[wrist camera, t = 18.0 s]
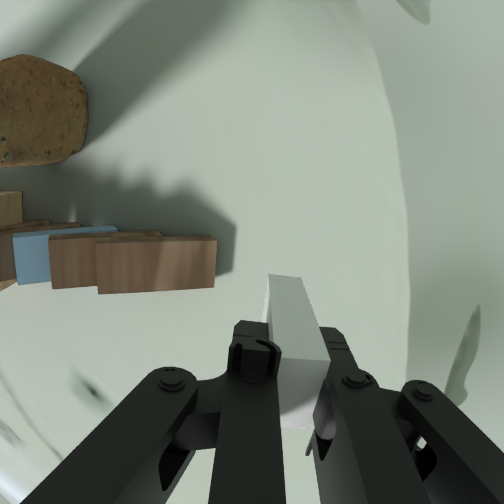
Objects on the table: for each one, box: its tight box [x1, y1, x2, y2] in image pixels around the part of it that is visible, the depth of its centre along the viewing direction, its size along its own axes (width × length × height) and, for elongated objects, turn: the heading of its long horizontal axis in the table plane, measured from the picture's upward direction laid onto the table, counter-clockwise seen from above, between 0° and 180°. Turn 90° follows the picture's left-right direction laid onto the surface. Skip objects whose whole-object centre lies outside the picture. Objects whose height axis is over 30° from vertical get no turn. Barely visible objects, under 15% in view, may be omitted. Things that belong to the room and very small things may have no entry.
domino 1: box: [0, 219, 50, 232], centre depth 28 cm, size 2×5×12 cm, turn 175°
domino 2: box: [0, 222, 81, 282], centre depth 29 cm, size 2×5×12 cm
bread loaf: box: [0, 54, 88, 167], centre depth 20 cm, size 11×8×20 cm
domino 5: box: [96, 236, 217, 294], centre depth 30 cm, size 2×5×12 cm
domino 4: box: [48, 230, 162, 289], centre depth 30 cm, size 2×5×12 cm
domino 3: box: [13, 225, 118, 285], centre depth 29 cm, size 2×5×12 cm
